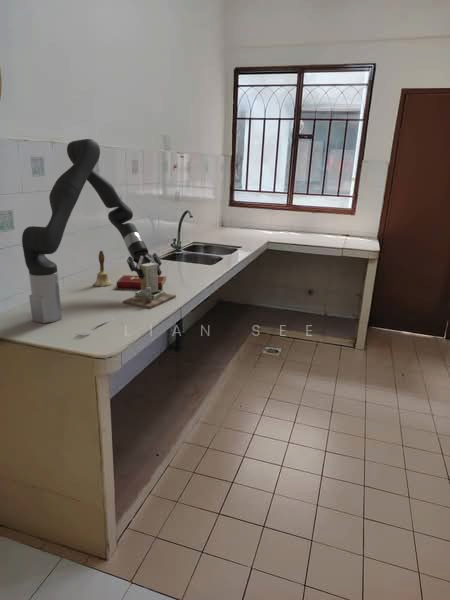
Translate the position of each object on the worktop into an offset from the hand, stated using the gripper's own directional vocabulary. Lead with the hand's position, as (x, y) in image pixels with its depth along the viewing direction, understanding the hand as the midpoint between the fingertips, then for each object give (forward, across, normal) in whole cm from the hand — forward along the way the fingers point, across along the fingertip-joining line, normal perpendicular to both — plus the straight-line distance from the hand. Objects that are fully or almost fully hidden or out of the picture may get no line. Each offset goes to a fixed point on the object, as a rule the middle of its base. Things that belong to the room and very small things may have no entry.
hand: (151, 276), depth 178 cm
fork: (+18, -32, -4) cm, 37 cm away
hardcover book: (-6, +7, +21) cm, 23 cm away
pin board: (+8, -2, +6) cm, 10 cm away
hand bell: (-17, -5, +31) cm, 35 cm away
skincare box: (+4, 0, +6) cm, 8 cm away
